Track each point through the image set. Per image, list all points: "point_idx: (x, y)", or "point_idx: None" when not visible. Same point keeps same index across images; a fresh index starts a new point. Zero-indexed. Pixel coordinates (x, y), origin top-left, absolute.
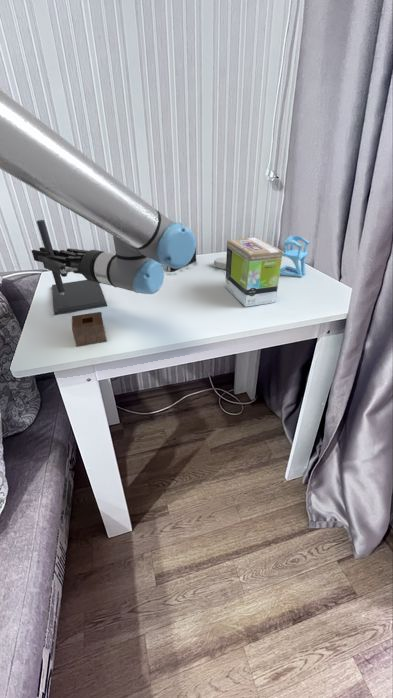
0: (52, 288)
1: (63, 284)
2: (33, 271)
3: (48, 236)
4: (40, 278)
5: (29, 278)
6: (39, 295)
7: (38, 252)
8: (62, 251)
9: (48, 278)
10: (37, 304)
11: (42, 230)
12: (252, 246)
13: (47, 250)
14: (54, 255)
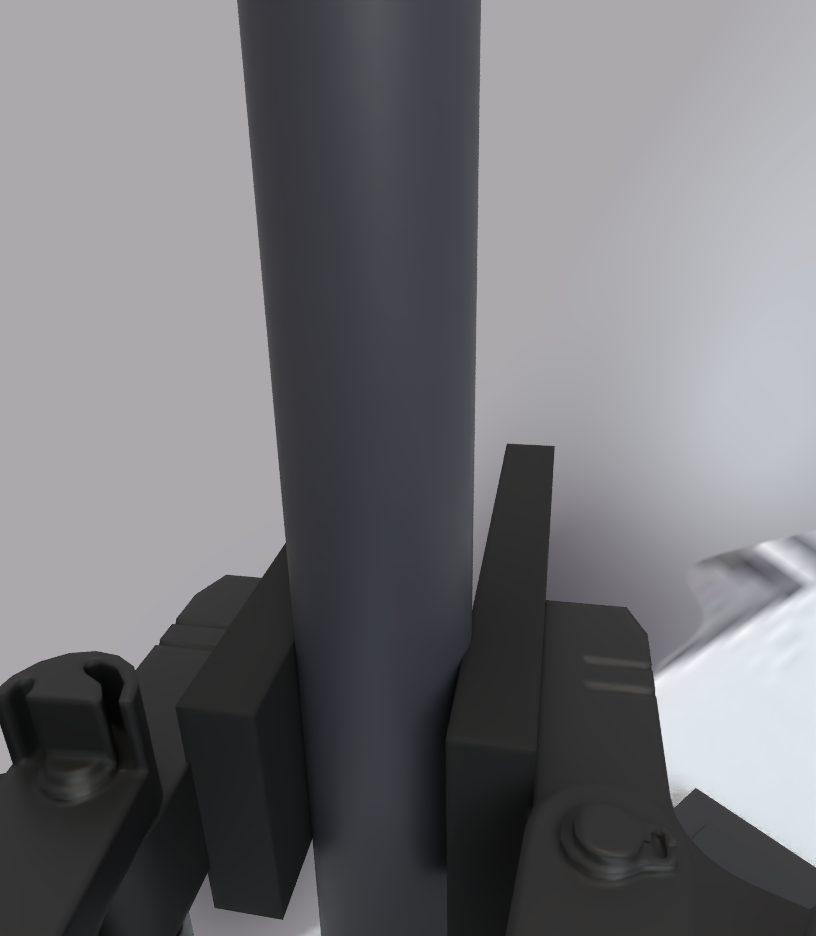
0: None
1: (783, 891)
2: (782, 541)
3: (394, 262)
4: (743, 628)
5: (689, 581)
6: None
7: None
8: (559, 914)
9: (790, 668)
10: (318, 931)
11: (246, 7)
12: None
13: (292, 600)
14: (431, 773)
